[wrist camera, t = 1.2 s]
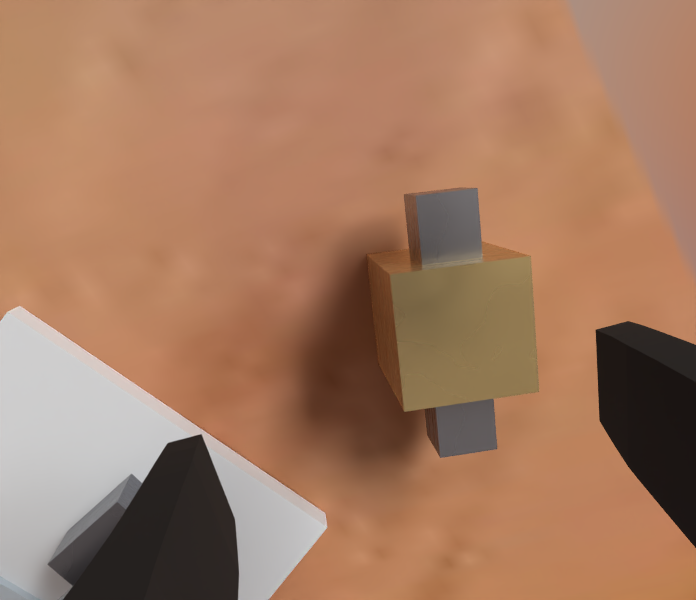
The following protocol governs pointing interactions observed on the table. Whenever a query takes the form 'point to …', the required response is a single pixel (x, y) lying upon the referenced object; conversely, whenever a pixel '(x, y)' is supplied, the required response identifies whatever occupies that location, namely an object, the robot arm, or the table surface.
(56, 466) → the bench
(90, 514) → the shaft
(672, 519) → the robot arm
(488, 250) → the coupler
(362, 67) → the table surface
